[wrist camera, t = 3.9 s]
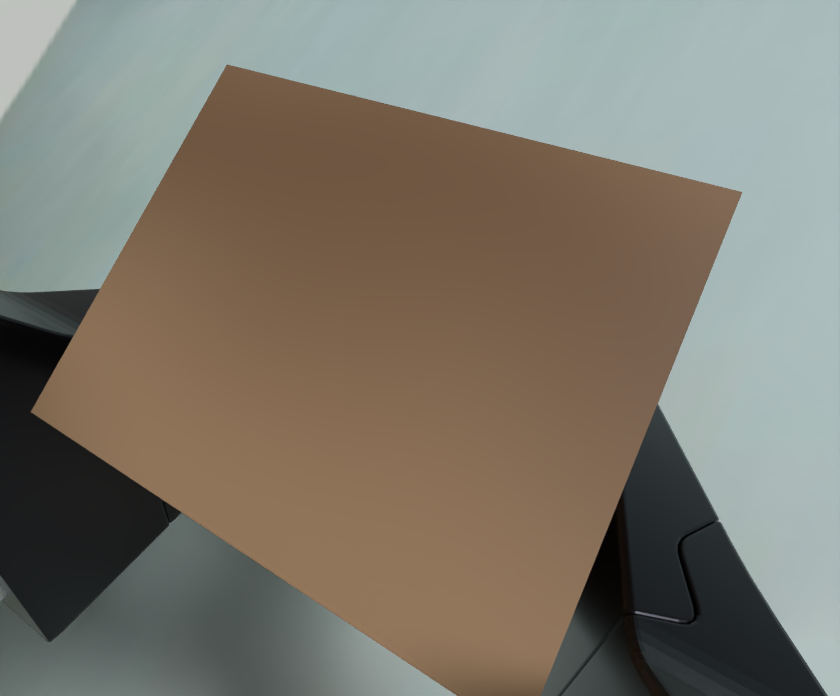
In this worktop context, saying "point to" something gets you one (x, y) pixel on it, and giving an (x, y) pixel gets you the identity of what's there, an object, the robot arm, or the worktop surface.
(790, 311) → the worktop surface
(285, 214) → the walnut block
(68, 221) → the worktop surface
